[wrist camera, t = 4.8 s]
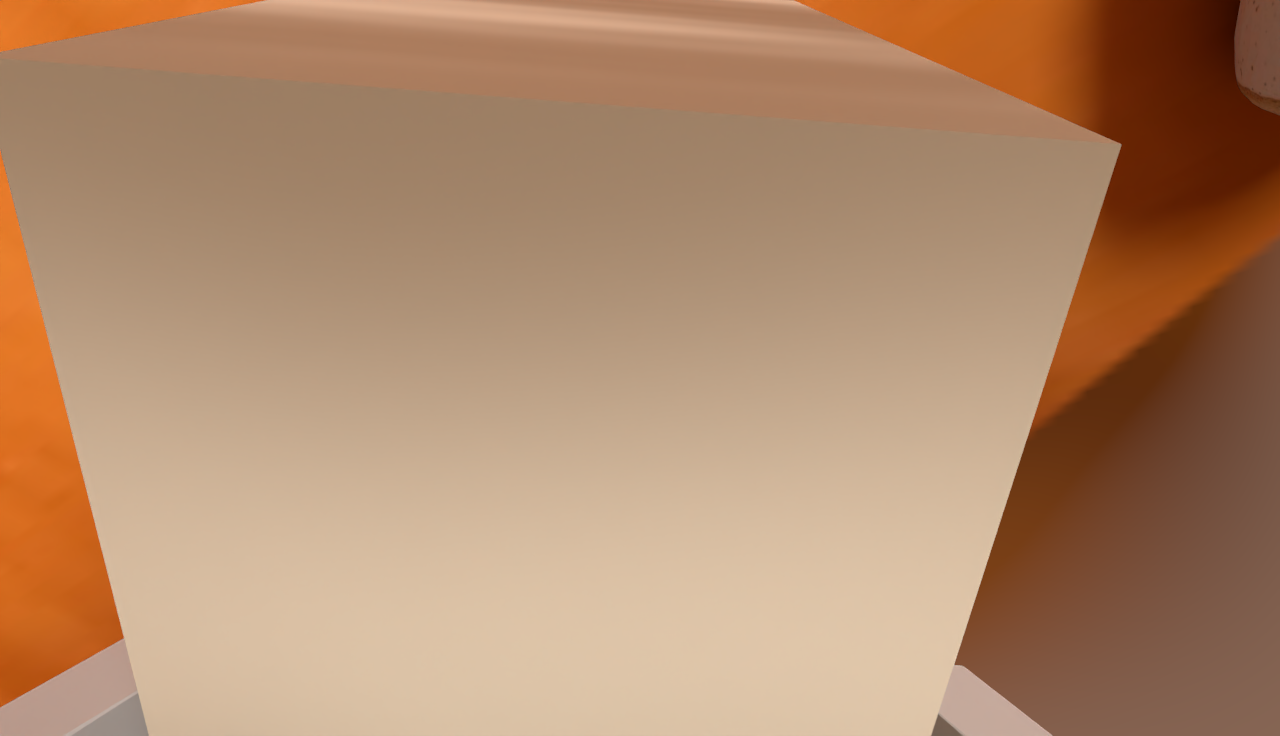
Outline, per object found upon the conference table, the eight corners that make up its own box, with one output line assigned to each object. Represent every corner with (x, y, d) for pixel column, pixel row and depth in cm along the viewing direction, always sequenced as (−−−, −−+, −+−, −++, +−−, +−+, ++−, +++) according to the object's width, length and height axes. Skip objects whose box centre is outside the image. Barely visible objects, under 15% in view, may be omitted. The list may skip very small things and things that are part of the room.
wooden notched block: (676, 636, 17) (723, 1376, 9) (476, 625, 17) (310, 1371, 8) (758, -15, 12) (1121, 145, 3) (468, -39, 12) (-23, 55, 3)
